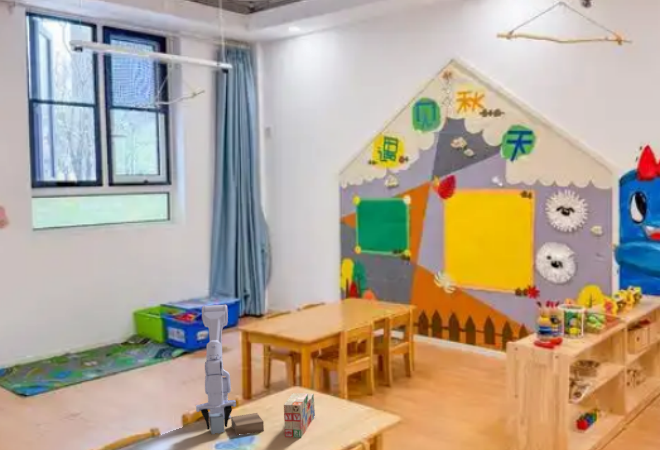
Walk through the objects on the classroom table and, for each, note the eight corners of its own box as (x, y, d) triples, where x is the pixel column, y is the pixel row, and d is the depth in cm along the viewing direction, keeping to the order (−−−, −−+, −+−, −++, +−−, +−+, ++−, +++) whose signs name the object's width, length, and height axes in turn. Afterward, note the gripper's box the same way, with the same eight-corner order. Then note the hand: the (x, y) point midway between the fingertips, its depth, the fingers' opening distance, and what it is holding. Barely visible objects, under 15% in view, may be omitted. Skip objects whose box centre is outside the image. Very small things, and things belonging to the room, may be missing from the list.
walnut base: (231, 427, 256) (231, 416, 255) (257, 422, 259) (256, 412, 259) (237, 436, 246) (236, 425, 246) (263, 431, 250) (263, 421, 249)
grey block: (210, 430, 253) (209, 414, 252) (222, 428, 254) (221, 412, 254) (212, 434, 248) (211, 418, 248) (224, 432, 250) (223, 416, 249)
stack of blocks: (299, 416, 264) (298, 385, 263) (315, 416, 263) (313, 385, 262) (284, 437, 243) (283, 404, 242) (301, 438, 242) (300, 404, 241)
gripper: (196, 397, 244) (198, 434, 245) (236, 392, 249) (238, 428, 250) (194, 391, 251) (196, 427, 252) (233, 386, 255) (235, 421, 256)
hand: (217, 427), depth 251 cm, fingers open, 6 cm apart
